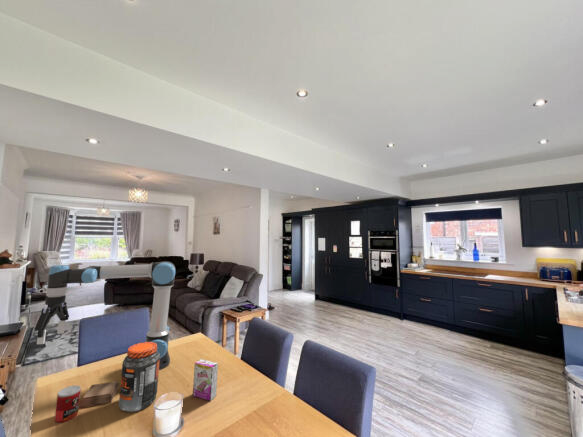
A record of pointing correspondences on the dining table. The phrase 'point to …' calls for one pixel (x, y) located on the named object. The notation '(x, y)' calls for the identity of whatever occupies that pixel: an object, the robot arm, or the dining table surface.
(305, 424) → the dining table surface
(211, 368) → the candy bar box
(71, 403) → the canned food
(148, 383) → the supplement tub
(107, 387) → the plinth
